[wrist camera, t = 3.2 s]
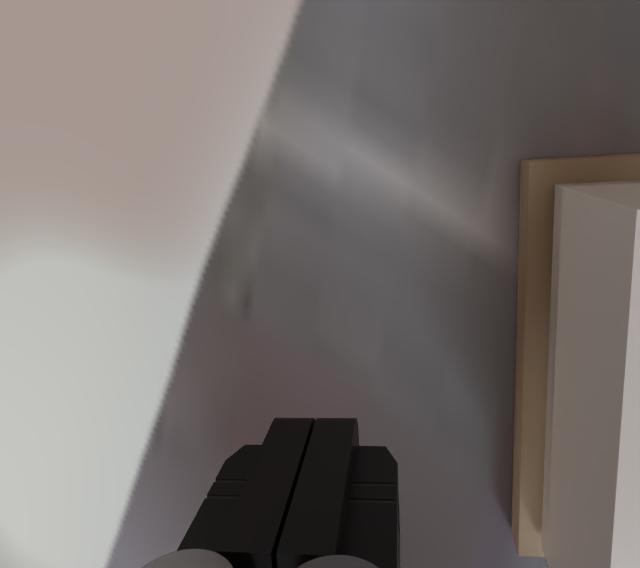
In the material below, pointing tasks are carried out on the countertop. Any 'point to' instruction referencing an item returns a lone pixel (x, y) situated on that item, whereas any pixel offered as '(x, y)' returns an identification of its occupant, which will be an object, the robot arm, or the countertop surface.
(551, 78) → the countertop surface
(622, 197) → the socket block
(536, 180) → the frame
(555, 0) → the countertop surface
